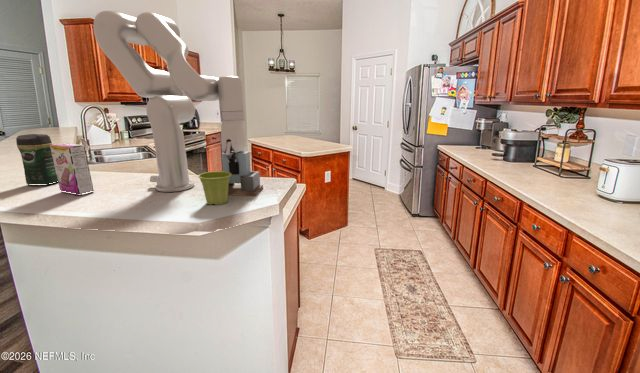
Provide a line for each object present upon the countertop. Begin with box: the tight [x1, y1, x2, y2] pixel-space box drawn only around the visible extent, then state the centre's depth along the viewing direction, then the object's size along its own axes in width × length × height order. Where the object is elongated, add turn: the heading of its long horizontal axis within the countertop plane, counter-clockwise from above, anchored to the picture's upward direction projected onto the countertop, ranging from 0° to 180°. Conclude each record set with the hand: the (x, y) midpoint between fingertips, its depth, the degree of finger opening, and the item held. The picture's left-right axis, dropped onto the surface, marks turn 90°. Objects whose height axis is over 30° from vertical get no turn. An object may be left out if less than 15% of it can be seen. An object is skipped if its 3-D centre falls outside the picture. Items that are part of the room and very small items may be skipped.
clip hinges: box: [229, 170, 261, 191], centre depth 110 cm, size 13×8×5 cm, turn 85°
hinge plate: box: [228, 183, 264, 197], centre depth 111 cm, size 15×9×1 cm, turn 85°
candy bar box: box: [50, 142, 95, 194], centre depth 108 cm, size 11×5×16 cm, turn 65°
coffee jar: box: [15, 133, 58, 185], centre depth 119 cm, size 10×8×19 cm
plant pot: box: [198, 170, 231, 206], centre depth 98 cm, size 9×9×9 cm
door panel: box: [221, 151, 252, 184], centre depth 109 cm, size 8×4×10 cm, turn 85°
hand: (236, 172), depth 109 cm, fingers closed on door panel, 4 cm apart
